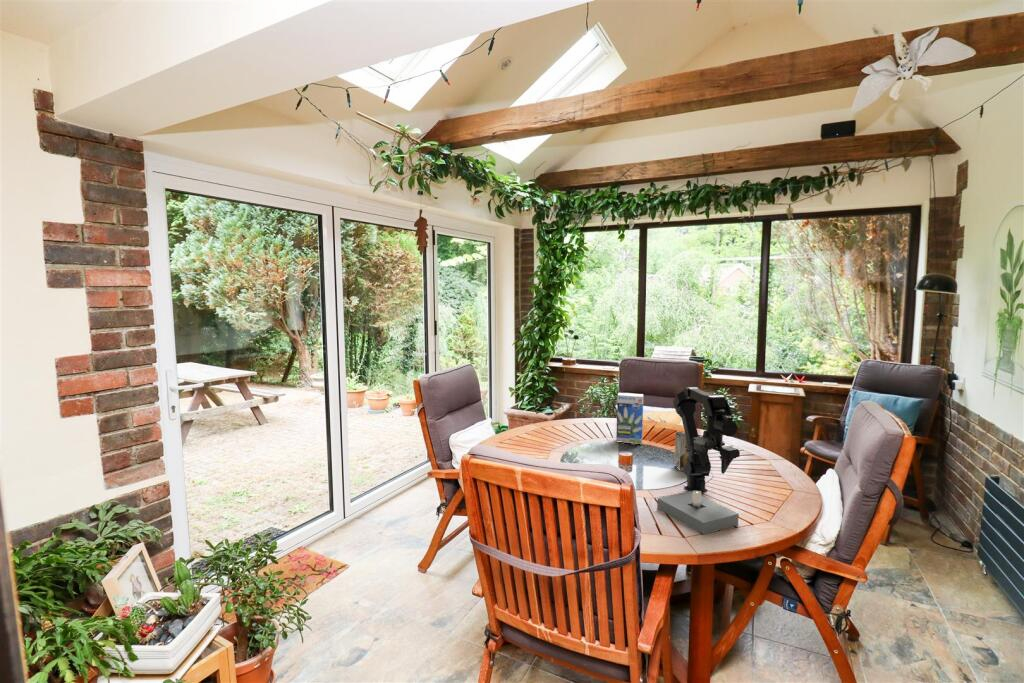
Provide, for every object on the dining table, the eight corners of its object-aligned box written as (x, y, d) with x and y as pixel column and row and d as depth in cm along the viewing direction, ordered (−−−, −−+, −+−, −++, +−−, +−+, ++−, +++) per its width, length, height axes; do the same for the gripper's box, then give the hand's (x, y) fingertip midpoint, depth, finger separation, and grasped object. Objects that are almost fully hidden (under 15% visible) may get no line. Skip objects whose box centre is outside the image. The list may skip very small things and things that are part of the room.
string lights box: (615, 443, 263) (616, 394, 261) (617, 439, 271) (618, 392, 268) (641, 445, 260) (643, 396, 257) (642, 441, 267) (643, 393, 264)
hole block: (657, 508, 184) (657, 498, 183) (689, 500, 191) (690, 490, 190) (703, 534, 164) (704, 522, 164) (738, 524, 171) (738, 513, 171)
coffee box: (693, 465, 229) (695, 431, 227) (699, 470, 223) (700, 435, 221) (674, 466, 229) (675, 431, 227) (679, 471, 222) (680, 435, 221)
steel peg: (689, 515, 178) (690, 491, 177) (696, 513, 179) (696, 489, 178) (696, 518, 175) (697, 494, 175) (702, 517, 177) (703, 492, 176)
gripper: (679, 425, 191) (678, 465, 192) (719, 438, 174) (717, 481, 176) (701, 422, 196) (700, 460, 197) (741, 434, 179) (739, 476, 180)
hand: (713, 469), depth 187 cm, fingers open, 9 cm apart
